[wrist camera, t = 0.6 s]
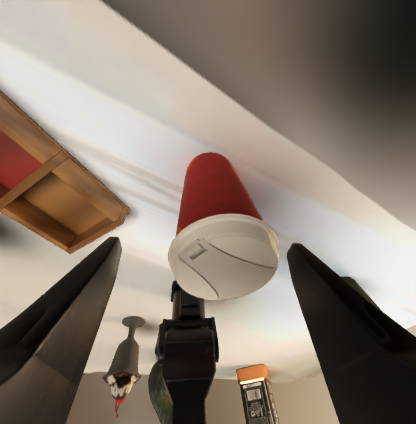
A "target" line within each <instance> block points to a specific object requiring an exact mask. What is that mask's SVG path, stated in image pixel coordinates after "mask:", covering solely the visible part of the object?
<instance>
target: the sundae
mask: <svg viewBox="0 0 416 424" xmlns="http://www.w3.org/2000/svg"><path fill="white" fill-rule="evenodd" d="M122 323H123V324H124V325H125V326H127V327H129V334H128V338H127V339H126V340H124V341H123V342H122V343H121V344H119V346H118V348H117V351H116V353H115V356H114V359H113V362H112V364H111V367H110V369H109V371H108V373H107V374H106V375H104V376H103V379H104V381H105V382H106V383H109V385H110V387H111V393H112V396H113V397H114V398H115V400H116V405H117V403H119V405H120V404H121V403H123V402H124V398H125V396H126V395H127V394H128V393H129V392H130V390H131V387H132V385H133V383H136V382H137V381H138V380H139V379H140V378H141V375H140V374H139V373H138V354H139V345H138V344H137V342H136V341H135V340H134V333H135V330H136V328H137V327H140V326H143V325H144V324H145V321H144V319H142V318H140V317H127V318H125V319H123V321H122ZM119 405H118V407H119ZM118 407H117V409H118ZM115 410H116V406H115ZM116 414H117V410H116ZM116 418H118V414H117V415H116Z"/></svg>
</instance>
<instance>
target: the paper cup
mask: <svg viewBox="0 0 416 424" xmlns="http://www.w3.org/2000/svg"><path fill="white" fill-rule="evenodd" d="M278 253H279V240H278V237H277V235H276V233H275V232H274V230H273V229H272V228H271V227H270V226H269V225H268V224H266V223H265V222H263V220H262V218H261V216H260V214H259V213H258V211H257V209H256V207H255V206H254V204H253V202H252V200H251V198H250V197H249V195H248V193H247V191H246V190H245V188H244V186H243V184H242V182H241V181H240V179H239V177H238V176H237V174H236V172H235V170H234V169H233V167H232V165H231V164H230V163H229V161H228V160H227V159H226V158H225V157H224V156H222V155H220V154H217V153H212V152H209V153H203V154H200V155H198V156H197V157H195V158H194V159H193V160H192V161H191V162H190V164H189V166H188V168H187V171H186V176H185V182H184V187H183V194H182V200H181V206H180V213H179V219H178V225H177V232H176V237H175V239H174V240H173V241H172V244H171V246H170V249H169V253H168V260H169V264H170V267H171V269H172V271H173V272H174V276H175V279H176V281H177V283H178V284H179V286H180V287H181V288H182V289H183V290H184V291H186V292H187V293H189V294H191V295H193V296H196V297H199V298H202V299H208V300H219V299H220V300H225V299H233V298H238V297H242V296H245V295H248V294H250V293H252V292H254V291H256V290H258V289H260V288H261V287H263V286H264V285H265V284H267V283H268V282H269V281H270V280H271V278H272V277H273V275H274V274H275V272H276V270H277V268H278V264H279V257H278Z"/></svg>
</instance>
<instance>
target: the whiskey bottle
mask: <svg viewBox="0 0 416 424" xmlns="http://www.w3.org/2000/svg"><path fill="white" fill-rule="evenodd" d="M236 373H237V378H238V383H239V385H240V388H241V395H242V401H243V406H244V413H245V418H246V424H279V420H278V415H277V411H276V407H275V402H274V398H273V394H272V389H271V385H270V384H271V380H270V376H269V371H268V369H267V368H266V367H265V366H264V365H256V366H252V367H247V368H243V369H238V370H236Z"/></svg>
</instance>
